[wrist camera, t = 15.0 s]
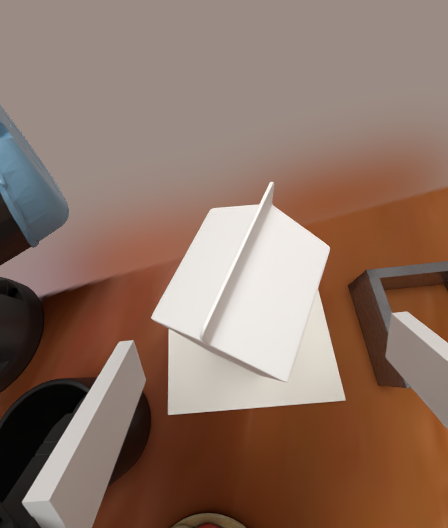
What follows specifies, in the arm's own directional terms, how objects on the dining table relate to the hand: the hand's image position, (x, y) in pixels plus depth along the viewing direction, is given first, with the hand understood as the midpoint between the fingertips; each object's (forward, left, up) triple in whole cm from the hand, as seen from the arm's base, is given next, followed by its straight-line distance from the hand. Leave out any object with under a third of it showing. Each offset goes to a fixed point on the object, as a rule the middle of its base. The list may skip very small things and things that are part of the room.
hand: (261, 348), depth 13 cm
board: (0, +3, -16) cm, 16 cm away
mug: (-17, -5, -16) cm, 25 cm away
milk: (-1, +2, -15) cm, 16 cm away
